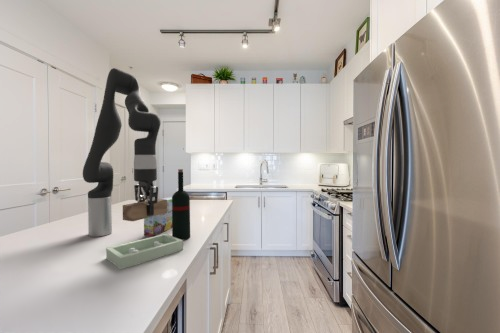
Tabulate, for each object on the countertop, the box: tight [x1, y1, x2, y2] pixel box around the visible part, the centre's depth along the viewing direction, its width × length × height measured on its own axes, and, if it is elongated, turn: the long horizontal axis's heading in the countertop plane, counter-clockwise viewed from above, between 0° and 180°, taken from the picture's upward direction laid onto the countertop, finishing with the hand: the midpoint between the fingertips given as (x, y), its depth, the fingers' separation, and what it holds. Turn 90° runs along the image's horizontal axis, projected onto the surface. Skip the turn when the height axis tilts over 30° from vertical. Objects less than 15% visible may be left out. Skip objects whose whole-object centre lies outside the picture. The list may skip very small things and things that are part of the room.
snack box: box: [143, 196, 172, 238], centre depth 116 cm, size 21×6×15 cm, turn 168°
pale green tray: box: [105, 233, 184, 270], centre depth 86 cm, size 13×22×4 cm, turn 138°
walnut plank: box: [122, 198, 167, 222], centre depth 86 cm, size 5×15×5 cm, turn 154°
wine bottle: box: [171, 168, 191, 241], centre depth 105 cm, size 8×10×30 cm
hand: (146, 214), depth 86 cm, fingers closed on walnut plank, 6 cm apart
